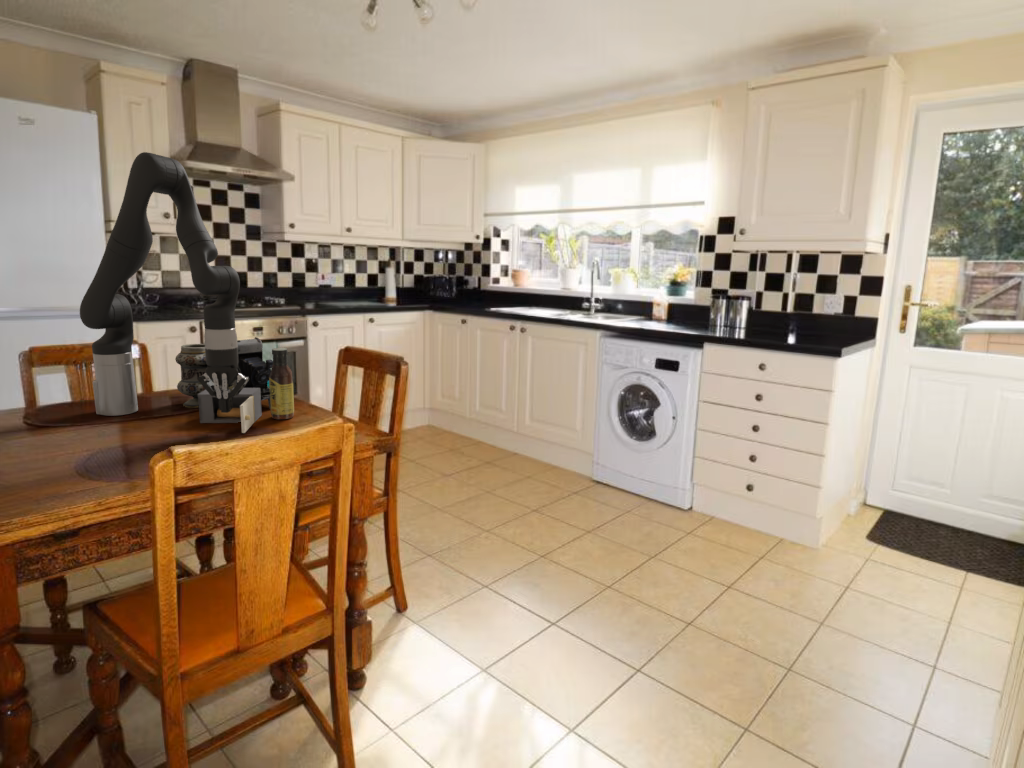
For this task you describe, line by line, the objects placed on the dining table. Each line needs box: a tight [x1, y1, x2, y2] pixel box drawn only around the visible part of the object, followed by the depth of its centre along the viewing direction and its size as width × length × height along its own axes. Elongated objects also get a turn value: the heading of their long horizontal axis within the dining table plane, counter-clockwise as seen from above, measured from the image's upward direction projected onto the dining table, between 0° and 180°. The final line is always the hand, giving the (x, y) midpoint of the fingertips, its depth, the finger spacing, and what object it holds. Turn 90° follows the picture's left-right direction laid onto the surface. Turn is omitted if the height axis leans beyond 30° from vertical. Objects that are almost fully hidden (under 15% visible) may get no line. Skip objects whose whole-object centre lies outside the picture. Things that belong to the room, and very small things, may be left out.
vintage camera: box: [233, 336, 273, 410], centre depth 183 cm, size 10×15×20 cm, turn 53°
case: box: [198, 388, 263, 424], centre depth 169 cm, size 14×8×8 cm, turn 97°
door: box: [240, 396, 256, 434], centre depth 161 cm, size 11×2×7 cm, turn 9°
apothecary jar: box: [175, 343, 214, 409], centre depth 183 cm, size 12×12×18 cm
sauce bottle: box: [268, 347, 295, 421], centre depth 170 cm, size 7×6×20 cm
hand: (225, 411), depth 158 cm, fingers closed
